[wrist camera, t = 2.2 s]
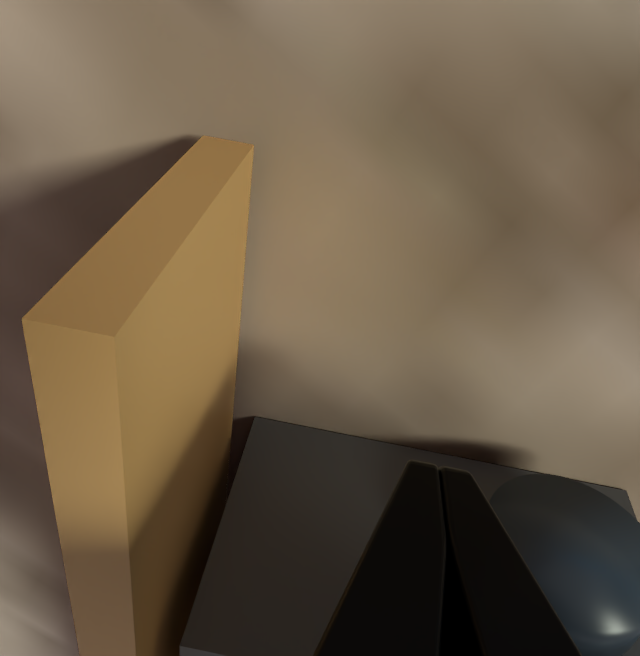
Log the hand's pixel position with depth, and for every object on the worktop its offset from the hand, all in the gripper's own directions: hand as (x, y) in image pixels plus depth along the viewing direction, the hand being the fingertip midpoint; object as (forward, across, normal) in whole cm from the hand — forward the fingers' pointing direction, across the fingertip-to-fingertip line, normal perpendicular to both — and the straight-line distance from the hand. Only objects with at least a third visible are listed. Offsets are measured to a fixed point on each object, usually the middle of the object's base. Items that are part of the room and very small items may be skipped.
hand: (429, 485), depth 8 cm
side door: (+3, +4, +6) cm, 8 cm away
